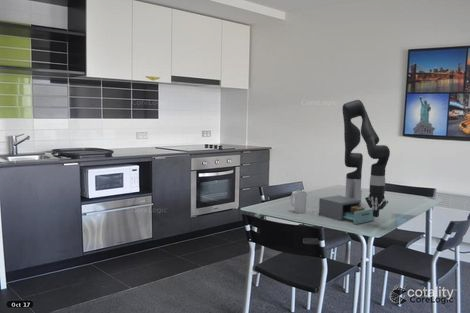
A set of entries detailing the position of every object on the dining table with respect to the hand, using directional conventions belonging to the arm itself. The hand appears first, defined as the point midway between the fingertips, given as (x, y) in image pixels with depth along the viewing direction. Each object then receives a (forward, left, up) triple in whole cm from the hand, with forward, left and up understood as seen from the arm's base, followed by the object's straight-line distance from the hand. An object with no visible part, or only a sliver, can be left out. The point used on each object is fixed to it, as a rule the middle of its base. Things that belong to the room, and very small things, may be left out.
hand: (375, 216), depth 220 cm
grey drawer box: (0, -24, -5) cm, 24 cm away
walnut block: (0, -12, -2) cm, 12 cm away
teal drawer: (0, -14, -4) cm, 15 cm away
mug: (+13, -44, -5) cm, 46 cm away
